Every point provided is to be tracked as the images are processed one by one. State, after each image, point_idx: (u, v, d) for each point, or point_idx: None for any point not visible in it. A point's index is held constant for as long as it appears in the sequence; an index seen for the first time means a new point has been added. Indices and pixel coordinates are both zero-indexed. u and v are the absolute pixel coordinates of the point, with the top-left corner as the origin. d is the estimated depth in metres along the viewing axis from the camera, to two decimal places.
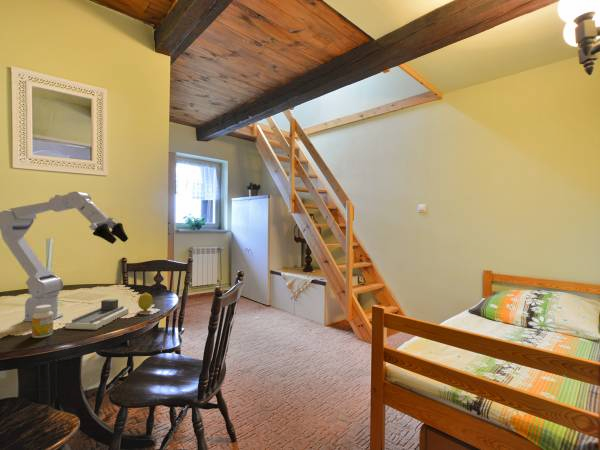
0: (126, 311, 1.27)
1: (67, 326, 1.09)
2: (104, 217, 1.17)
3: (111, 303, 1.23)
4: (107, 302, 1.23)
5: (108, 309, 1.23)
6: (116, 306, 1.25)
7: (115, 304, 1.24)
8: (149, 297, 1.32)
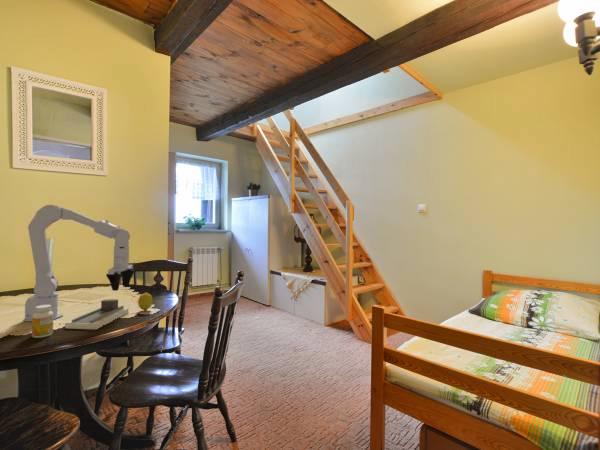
0: (126, 311, 1.27)
1: (67, 326, 1.09)
2: (125, 264, 1.30)
3: (111, 303, 1.23)
4: (107, 302, 1.23)
5: (108, 309, 1.23)
6: (116, 306, 1.25)
7: (115, 304, 1.24)
8: (149, 297, 1.32)
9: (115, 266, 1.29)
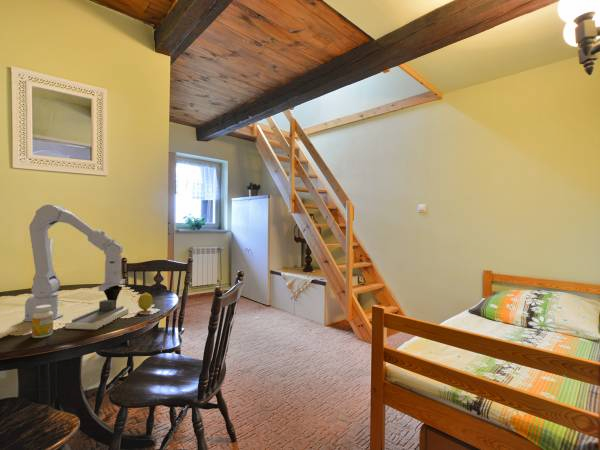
0: (126, 311, 1.27)
1: (67, 326, 1.09)
2: (117, 280, 1.25)
3: (109, 304, 1.22)
4: (105, 303, 1.22)
5: (106, 310, 1.22)
6: (114, 307, 1.24)
7: (113, 305, 1.23)
8: (149, 297, 1.32)
9: (106, 282, 1.24)
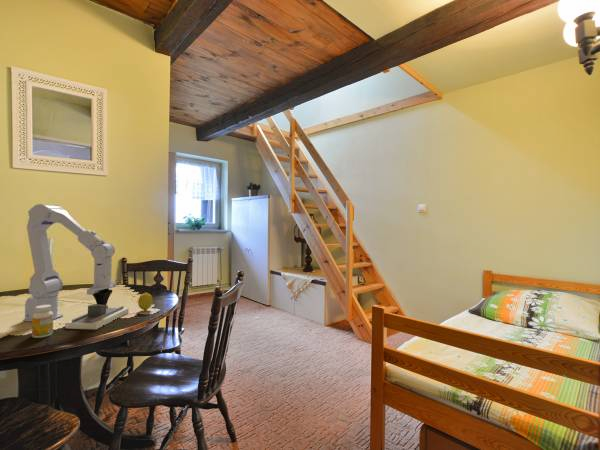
0: (126, 311, 1.27)
1: (67, 326, 1.09)
2: (107, 283, 1.19)
3: (98, 308, 1.16)
4: (94, 307, 1.16)
5: (95, 315, 1.16)
6: (104, 311, 1.18)
7: (103, 309, 1.17)
8: (149, 297, 1.32)
9: (95, 285, 1.17)
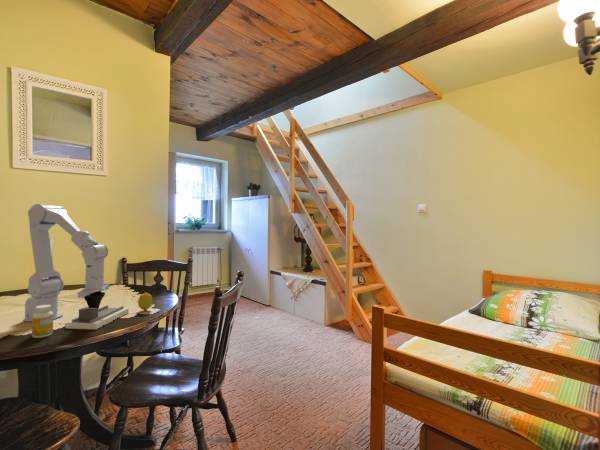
0: (126, 311, 1.27)
1: (67, 326, 1.09)
2: (99, 285, 1.14)
3: (90, 312, 1.11)
4: (85, 311, 1.11)
5: (86, 318, 1.11)
6: (96, 315, 1.13)
7: (94, 313, 1.12)
8: (149, 297, 1.32)
9: (87, 287, 1.12)
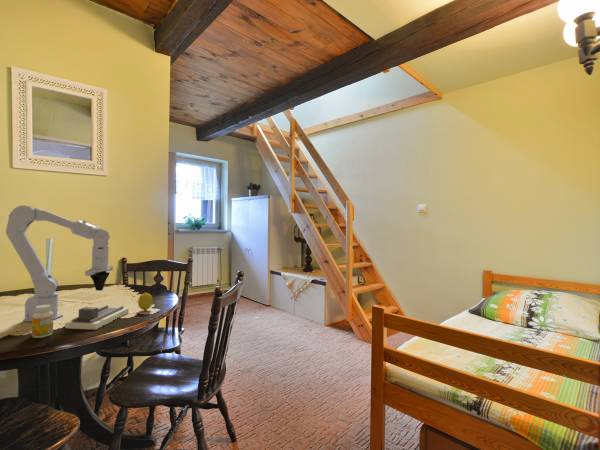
0: (126, 311, 1.27)
1: (67, 326, 1.09)
2: (104, 266, 1.27)
3: (90, 312, 1.11)
4: (85, 311, 1.11)
5: (86, 319, 1.11)
6: (96, 315, 1.13)
7: (94, 313, 1.12)
8: (149, 297, 1.32)
9: (93, 267, 1.25)
